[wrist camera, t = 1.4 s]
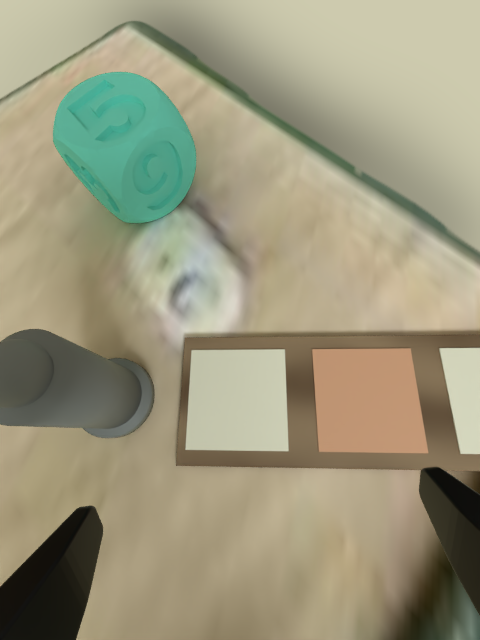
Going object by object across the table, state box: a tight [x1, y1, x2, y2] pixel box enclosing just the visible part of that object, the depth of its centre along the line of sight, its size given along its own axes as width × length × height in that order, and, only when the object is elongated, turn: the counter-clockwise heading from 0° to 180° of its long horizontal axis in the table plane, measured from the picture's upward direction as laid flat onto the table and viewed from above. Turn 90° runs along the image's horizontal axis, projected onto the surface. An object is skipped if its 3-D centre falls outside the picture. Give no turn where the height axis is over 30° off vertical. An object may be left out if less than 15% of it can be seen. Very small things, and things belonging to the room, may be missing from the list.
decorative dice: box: [53, 72, 196, 223], centre depth 27 cm, size 8×8×8 cm
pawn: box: [0, 329, 154, 438], centre depth 18 cm, size 6×6×12 cm
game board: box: [176, 335, 480, 471], centre depth 23 cm, size 9×26×1 cm, turn 90°
